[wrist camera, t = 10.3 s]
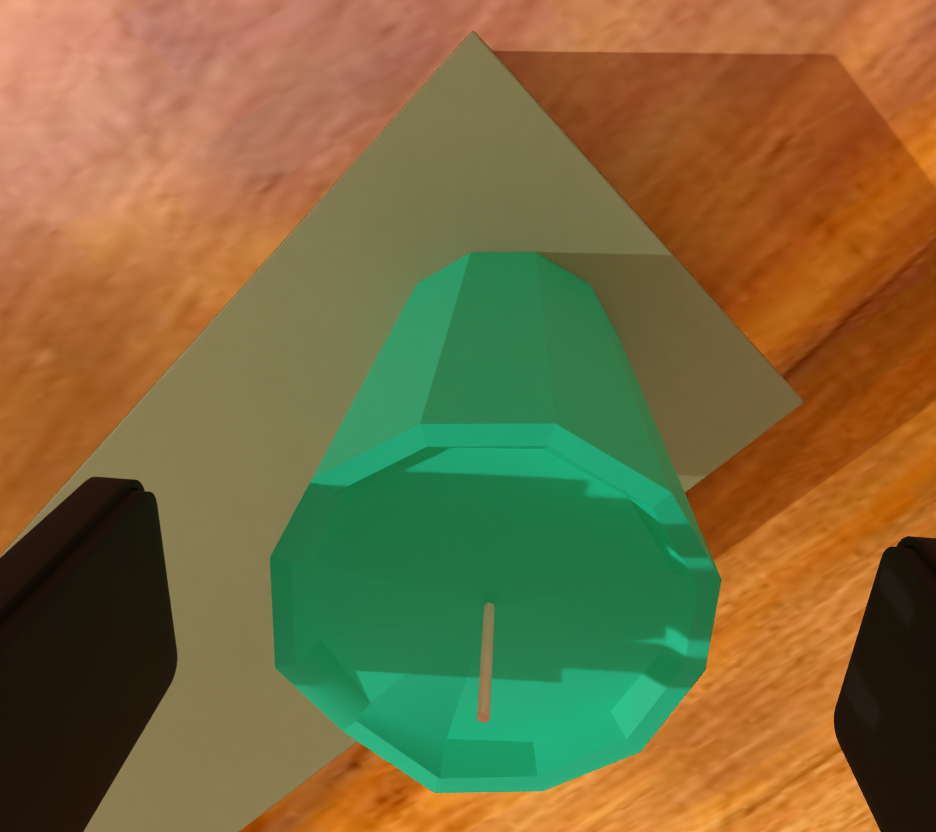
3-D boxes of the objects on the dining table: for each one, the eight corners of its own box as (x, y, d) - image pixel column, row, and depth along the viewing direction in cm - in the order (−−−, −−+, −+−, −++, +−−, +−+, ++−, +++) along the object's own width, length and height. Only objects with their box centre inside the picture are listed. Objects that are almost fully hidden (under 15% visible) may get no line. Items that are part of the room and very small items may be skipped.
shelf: (486, 49, 24) (473, 29, 17) (726, 318, 27) (805, 402, 20) (14, 564, 33) (-131, 701, 25) (233, 727, 36) (160, 892, 28)
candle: (503, 194, 18) (481, 352, 7) (671, 367, 19) (877, 731, 8) (337, 365, 20) (112, 705, 9) (501, 512, 21) (484, 966, 10)
